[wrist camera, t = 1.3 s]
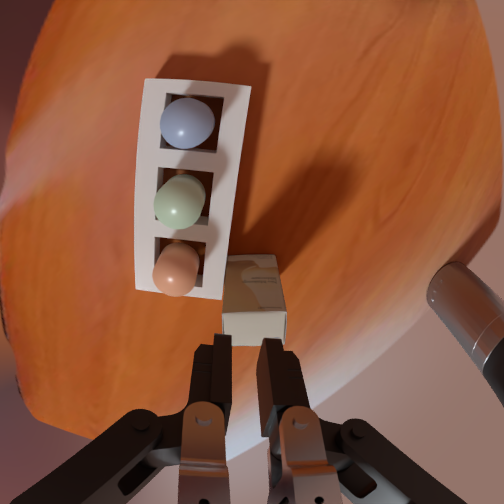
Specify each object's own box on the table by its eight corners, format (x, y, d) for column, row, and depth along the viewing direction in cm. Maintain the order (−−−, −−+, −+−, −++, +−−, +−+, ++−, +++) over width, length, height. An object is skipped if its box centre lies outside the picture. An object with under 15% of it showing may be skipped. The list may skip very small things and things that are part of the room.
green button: (208, 176, 31) (204, 184, 28) (203, 218, 33) (199, 231, 30) (164, 172, 31) (154, 179, 27) (161, 214, 33) (152, 226, 29)
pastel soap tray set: (250, 89, 30) (251, 86, 27) (222, 287, 40) (221, 299, 37) (152, 81, 29) (145, 78, 26) (141, 277, 39) (135, 289, 36)
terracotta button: (200, 244, 35) (197, 260, 31) (198, 280, 37) (194, 299, 33) (160, 240, 34) (152, 255, 31) (159, 275, 36) (152, 293, 33)
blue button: (217, 102, 28) (215, 100, 24) (211, 146, 30) (208, 151, 26) (172, 98, 28) (163, 96, 24) (166, 142, 30) (157, 146, 26)
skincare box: (275, 253, 38) (291, 310, 27) (274, 282, 40) (288, 345, 29) (224, 254, 38) (220, 313, 27) (226, 284, 40) (223, 348, 29)
